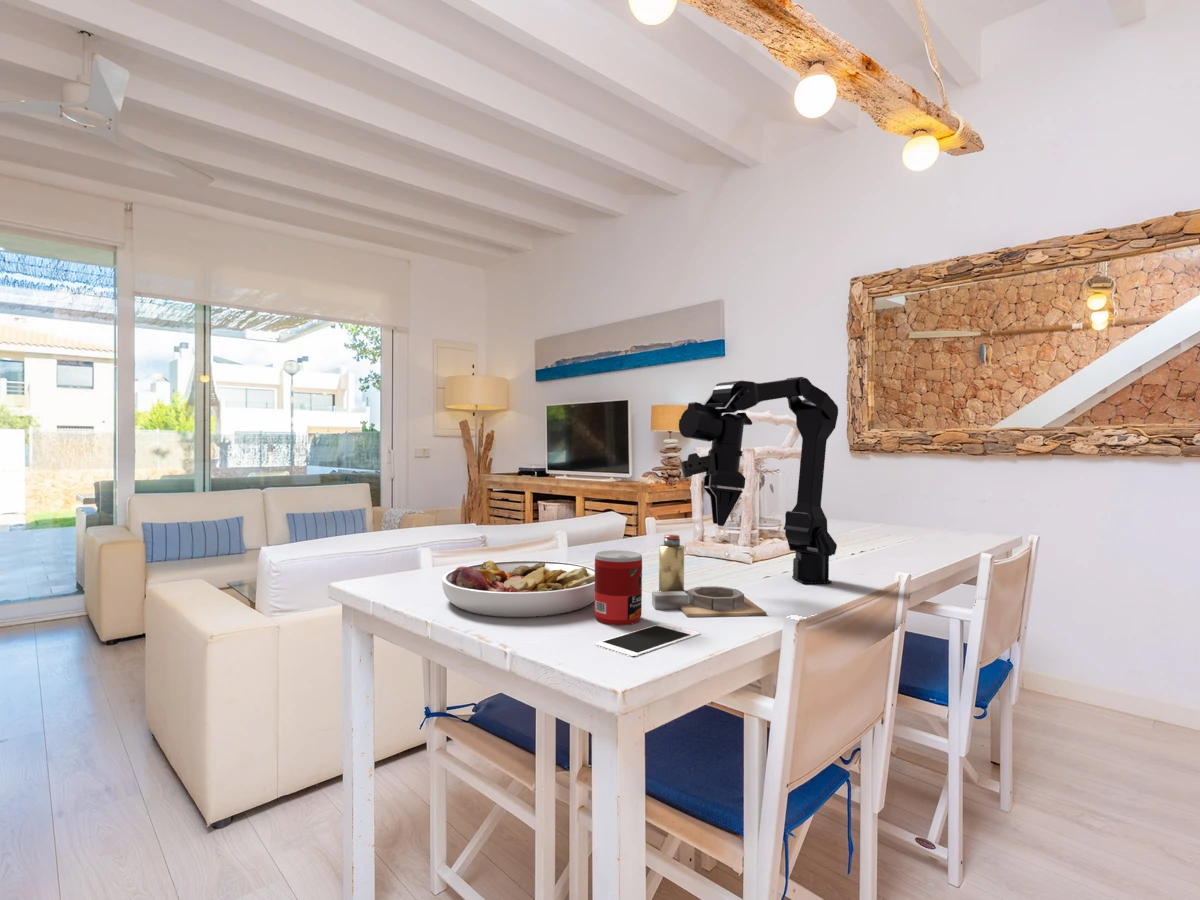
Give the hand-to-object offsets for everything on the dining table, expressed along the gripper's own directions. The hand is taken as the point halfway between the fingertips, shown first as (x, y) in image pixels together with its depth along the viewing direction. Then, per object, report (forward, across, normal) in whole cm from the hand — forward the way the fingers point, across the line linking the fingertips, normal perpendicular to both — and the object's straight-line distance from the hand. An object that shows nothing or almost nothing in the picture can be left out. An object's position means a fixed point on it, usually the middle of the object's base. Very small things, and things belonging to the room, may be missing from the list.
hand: (718, 524), depth 126 cm
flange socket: (+15, +7, -2) cm, 16 cm away
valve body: (+14, -5, -7) cm, 17 cm away
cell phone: (+18, +28, -11) cm, 35 cm away
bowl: (+19, +6, -35) cm, 40 cm away
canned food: (+17, +17, -17) cm, 30 cm away
